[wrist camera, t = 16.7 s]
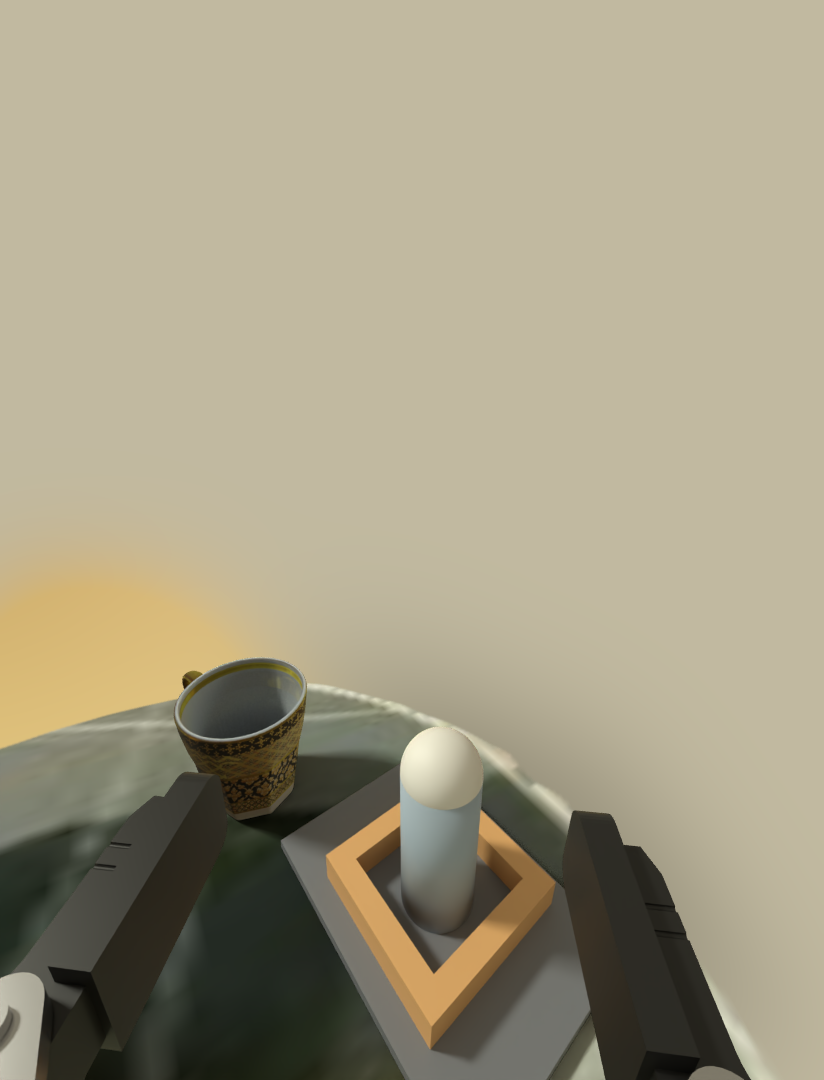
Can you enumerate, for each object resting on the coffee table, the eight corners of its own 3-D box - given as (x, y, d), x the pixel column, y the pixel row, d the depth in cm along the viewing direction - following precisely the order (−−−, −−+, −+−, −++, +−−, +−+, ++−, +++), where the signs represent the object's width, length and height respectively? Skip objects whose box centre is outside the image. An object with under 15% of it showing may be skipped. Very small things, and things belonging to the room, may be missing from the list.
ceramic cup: (336, 769, 41) (331, 680, 37) (250, 866, 32) (234, 763, 29) (240, 716, 47) (228, 635, 43) (147, 787, 38) (123, 694, 35)
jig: (281, 847, 34) (278, 819, 33) (420, 756, 42) (421, 732, 41) (471, 1204, 19) (476, 1174, 18) (624, 957, 28) (634, 927, 27)
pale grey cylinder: (386, 886, 31) (382, 735, 26) (438, 840, 34) (443, 698, 29) (435, 953, 27) (441, 793, 22) (488, 895, 30) (503, 743, 25)
